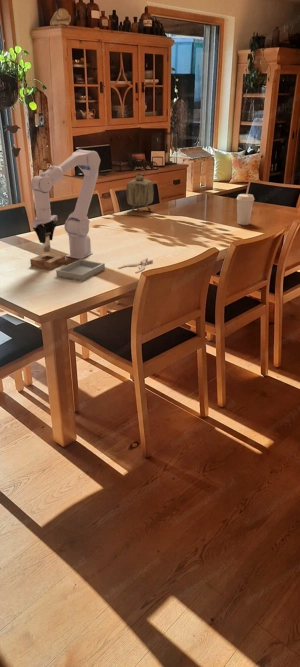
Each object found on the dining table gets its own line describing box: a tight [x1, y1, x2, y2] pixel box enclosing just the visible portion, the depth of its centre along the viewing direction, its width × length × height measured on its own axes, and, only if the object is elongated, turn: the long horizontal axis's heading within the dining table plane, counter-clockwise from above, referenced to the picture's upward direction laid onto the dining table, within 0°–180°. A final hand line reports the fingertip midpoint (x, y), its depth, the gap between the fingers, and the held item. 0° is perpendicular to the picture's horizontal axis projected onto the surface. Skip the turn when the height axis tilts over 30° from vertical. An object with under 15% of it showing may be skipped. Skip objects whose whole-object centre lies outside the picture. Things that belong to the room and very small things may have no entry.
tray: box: [55, 258, 106, 282], centre depth 198 cm, size 16×12×2 cm
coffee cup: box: [236, 193, 256, 226], centre depth 269 cm, size 10×10×15 cm
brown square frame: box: [30, 252, 66, 271], centre depth 207 cm, size 10×10×3 cm
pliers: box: [117, 257, 154, 274], centre depth 206 cm, size 10×2×15 cm
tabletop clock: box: [125, 166, 155, 213], centre depth 293 cm, size 14×9×25 cm, turn 66°
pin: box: [42, 231, 52, 253], centre depth 203 cm, size 4×4×8 cm
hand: (46, 241), depth 203 cm, fingers closed on pin, 4 cm apart
